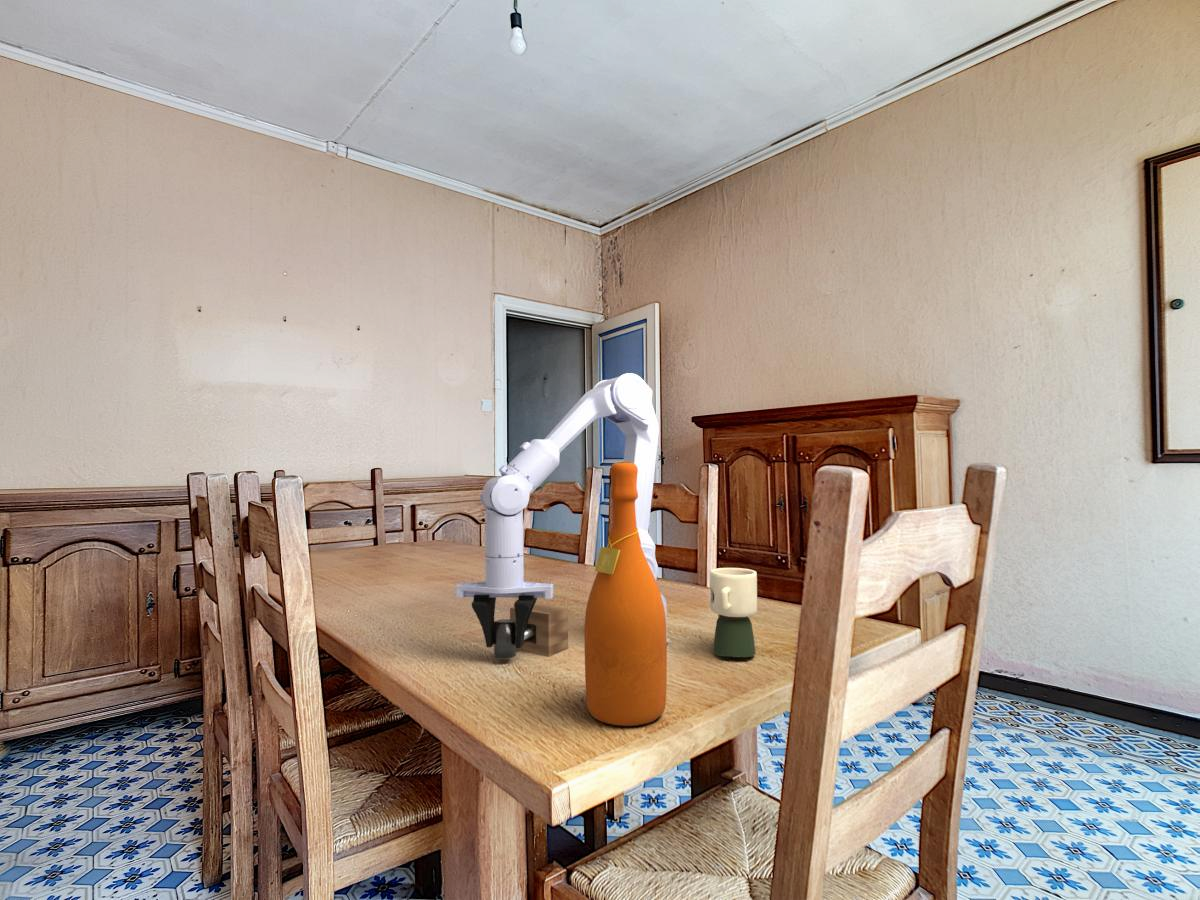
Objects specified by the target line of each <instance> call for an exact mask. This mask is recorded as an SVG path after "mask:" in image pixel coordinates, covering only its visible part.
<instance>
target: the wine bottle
mask: <svg viewBox="0 0 1200 900" xmlns="http://www.w3.org/2000/svg"><path fill="white" fill-rule="evenodd" d="M637 473H638V468H637V466H636V465H635V464H634V463H632V462H623V461H617V462H614V463H612V464H611V465H610V468H609V474H610V481H611V484H610V485H611V488H610V489H611V490H610V493H609V494H610V495H609V496H610V498H611V500H612V502H613V509H612V510H613V512H612V513H613V514H612V525H611V528H610V533H609V535H608V536H607V537H608V539H609V540H608V539H607V546H608V548H607V546H606V547H605V546H601V547H600V550H599V554H598V557H597V560H596V565H595V569H594V571H595V572H597V573H596V576H595V578H594V581H593V583H592V587H591V589H590V593H589V595H588V599H587V603H586V608H585V616H584V631H583V632H584V633H583V634H584V635H583V636H584V645H583V646H584V674H585V675H584V677H585V697H586V698H585V699H586V707H587V710H588V712H589V714H590V715H591V716H592V717H593V718H595V719H596V720H598V721H600V722H602V723H605V724H608V725H613V726H620V727H621V726H622V727H630V726H631V727H632V726H641V725H645V724H649V723H652V722H654V721H655V720H657V719H658V718H660V717H661V716H662V715H663V713H664V712H665V709H666V703H667V675H668V674H667V673H668V671H667V668H668V664H667V663H668V659H667V658H668V657H667V656H668V655H667V654H668V650H667V649H668V648H667V647H668V646H667V645H668V643H667V639H668V631H667V632H666V616H665V610H664V605H663V601H662V598H661V594H662V593H661V592H660V588H659V586H658V583H657V579H656V580H655V578H654V576H653V573H652V571H651V569H650V567H649V564H648V562H647V560H646V557H645V555H644V553H643V550H642V547H641V541H640V537H639V532H638V528H637V525H636V513H635V500H636V499H637V498H638V492H637ZM608 544H609V545H608Z"/></svg>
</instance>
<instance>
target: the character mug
mask: <svg viewBox="0 0 1200 900" xmlns="http://www.w3.org/2000/svg"><path fill="white" fill-rule="evenodd" d="M709 571H710V572H709V590H710V603H709V607H710V610H711V612H713V613H714V614H717V616H718V618H717V619H716V625H715V631H714V638H713V650H712V651H713V652H714V654H715V655H717V656H719V657H729V659H730V660H733V659H734V658H749V657H754V656H755V655H756V646H755V637H754V636H755V635H754V630H753V624H752V621H751V619H750V617H751V616H755V615H756V614H757V612H758V575H757V574H758V573H757V571H756V570H753V569H749V568H741V567H719V568H712V569H710V570H709Z"/></svg>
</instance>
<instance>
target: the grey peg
mask: <svg viewBox="0 0 1200 900" xmlns="http://www.w3.org/2000/svg"><path fill="white" fill-rule="evenodd" d="M533 636H536V626H534V627H531V628H528V629H526V631H525V636H524V640H525V639H528V638H530V637H533ZM493 646H494V647H493V648H494V649H493V651H494V653H493V654H494V655H493V656H494V657H495V658H497V659H500V660H501V659H511V658H514V657H516V655H517V649H516V621H515V620H512V619H510V618H504V619H503V618H502V619H498V620H494V645H493Z"/></svg>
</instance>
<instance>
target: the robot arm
mask: <svg viewBox="0 0 1200 900" xmlns="http://www.w3.org/2000/svg"><path fill="white" fill-rule="evenodd" d="M652 400H653V390H652V389H651V388H650V386H649V385H648V384H647V383H646V382H645V380H644V379H643V378H642V377H641V376H639V375H638V374H636V373H632V372H630V373H629V372H627V373H623V374H621V375H620V376H617V377H614V378H613V377H612V378H610V379H603V380H600V381H599V382H597V383H596V384H595V385H594V387H593V388H592V389H590V390H588V391H587V392H585V393H584V394H583V396H581V398H580V399H579V400H578V401H577V402H576V403H575V404H574V405H573V406H572V408H571V409H569V411H568V412H567V413H566V414H565V416H563V417H562V419H561V420H560V421H559V422H558V423H557V424H556V425H555V427H554V428H553V429H552V430H551V431H550V432H549V433H548V434H547V435H546V437H545V438H543V439H542V438H539V439H538V438H535V439H532V440H531V441H530V442H528V441H525V442H523V443H522V444H521V445H520V446H519V449H520V451H519V453H518V454H517V455H516V456H515V457H514V458H513V459H512V460H511V461H510V462H509V463H508V464H507V465H501V466H500V468H499V469H498V471H499V472H500V475H498V476H494V477H492V478H490V479H489V480H487V482H486V483H485V484H484V486H483V490H482V491H481V492H482V493H480V495H479V496H480V501H481V504H482V505H483V507H484V508H485V526H484V527H485V528H484V531H485V533H484V534H485V538H484V539H485V542H484V543H485V546H484V547H485V549H484V551H485V552H484V553H485V581H479V582H477V581H475V582H460V583H457V584H456V585H455V590H456V591H455V598H456V599H464V598H473V600H472V602H471V608H472V610H473V612H474V613H475V615H476V617H477V619H478V621H479V624H480V626H481V630H482V632H483V636H484V640H485V641H484V642H485V644H486V645H485V646H486V648H492V647H493V646H494V622H495V613H496V612H495V611H496V600H497V598H514V599H516V598H517V600H515V601H514V602H513V607H515V616H516V648H521V647H522V645H523V643H524V636H525V631H526V627H527V623H528V620H529V617H530V614H531V612H532V609H533V607H534V605H535V603H537V600H538V599H544V600H551V599H553V597H554V583H544V582H543V583H542V582H533V581H532V582H531V581H525V580H524V577H525V568H524V567H525V566H524V565H525V563H524V561H525V557H524V555H525V554H524V550H525V549H524V545H525V544H524V540H525V539H524V509H526V508H527V507H528V505H529V501H530V495H531V494H533V493H534V492H535V491H536V490H537V489H538V488H539V486H541V484H542V483H543V482H544V481H545V480H546V479H547V478H548V477H549V476H551V474H552V473H553V472H554V471H555V470H556V468H558V467H559V465H560V456H561V455H560V454H561V452H562V451H563V450H565V449H566V448H567V447H568V446H569V444H571V443H572V442H573V441H574V440H575V439H576V438H577V437H578V436H579V435H580V434H581V433H582V432H583V431H584V430H585V429H587V428H588V426H590V424H592V423H593V422H594V421H596V420H598V419H602V418H605V419H606V420H608V421H610V422H612V423H613V424H615V425H616V426H617V427H618V429H619V430H620V431H621V432H622V433H623V435H624V436H625V445H624V455H623V461H622V462H632V463H634V464H635V465H636V466H637V468H638V473H637V492H638V498H637V499H636V500H635V513H636V525H637V528H638V532H639V537H640V541H641V547H642V550H643V553H644V555H645V557H646V560H647V562H648V564H649V567H650V569H651V571H652V573H653V576H654V578H655V580H656V581H657V578H658V575H659V565H658V563H657V559H656V544H655V542H654V541H653V538H652V537H651V535H650V534H649V528H650V520H651V519H650V518H651V509H652V498H653V491H654V480H655V471H656V464H657V463H656V461H657V451H658V443H659V436H660V435H659V433H660V425H659V422H658V419H657V416H656V412H655V408H654V406H653V402H652ZM608 540H609V539H607V541H608ZM608 545H609V544H608V543H607V546H606V548H608ZM660 594H661V598H662V601H663V605H664V610H665V616H666V632H667V633H668V605H667V604H668V603H667V601H666V597H665V596H664V595H663V594H662V593H660ZM669 642H670V639H669V638H667V644H668V643H669Z"/></svg>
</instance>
